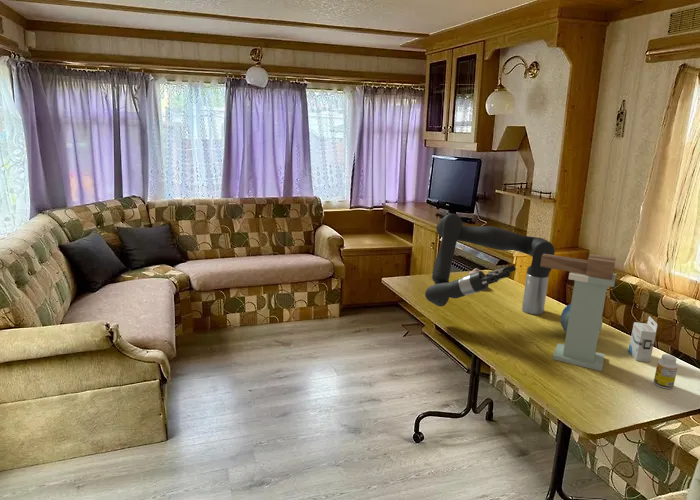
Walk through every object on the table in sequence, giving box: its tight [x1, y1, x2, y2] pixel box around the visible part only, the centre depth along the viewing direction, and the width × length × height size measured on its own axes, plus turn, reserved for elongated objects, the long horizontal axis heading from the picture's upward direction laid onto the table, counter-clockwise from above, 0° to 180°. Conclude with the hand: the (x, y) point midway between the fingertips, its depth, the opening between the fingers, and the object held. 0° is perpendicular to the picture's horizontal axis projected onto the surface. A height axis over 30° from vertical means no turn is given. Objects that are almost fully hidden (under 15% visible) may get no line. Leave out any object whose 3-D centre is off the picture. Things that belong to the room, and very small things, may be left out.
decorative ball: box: [560, 303, 603, 333], centre depth 194 cm, size 15×15×15 cm
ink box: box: [628, 316, 658, 363], centre depth 179 cm, size 9×5×15 cm, turn 168°
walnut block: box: [540, 253, 617, 280], centre depth 171 cm, size 8×23×6 cm, turn 60°
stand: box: [552, 271, 617, 372], centre depth 174 cm, size 12×16×32 cm
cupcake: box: [468, 267, 481, 275], centre depth 252 cm, size 9×9×10 cm
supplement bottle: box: [653, 353, 679, 390], centre depth 160 cm, size 6×6×10 cm
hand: (512, 270), depth 184 cm, fingers open, 8 cm apart
